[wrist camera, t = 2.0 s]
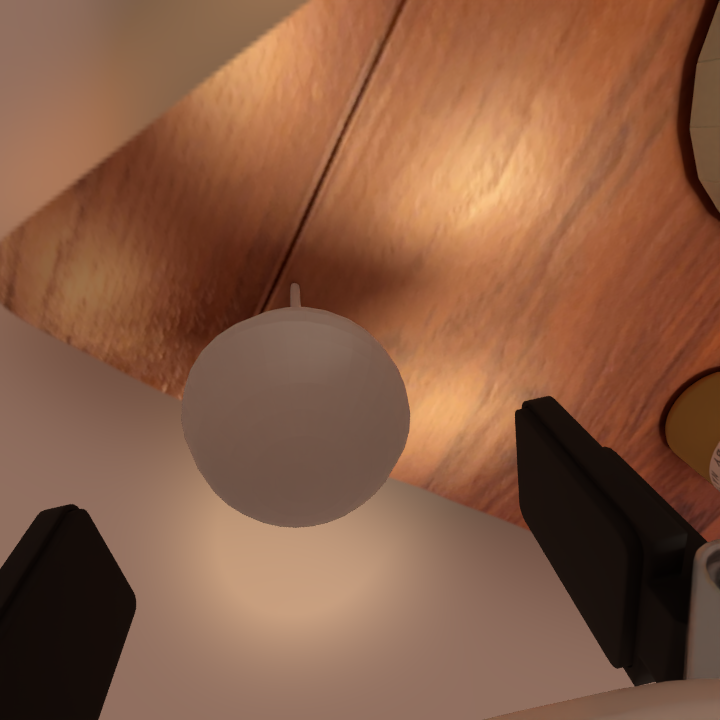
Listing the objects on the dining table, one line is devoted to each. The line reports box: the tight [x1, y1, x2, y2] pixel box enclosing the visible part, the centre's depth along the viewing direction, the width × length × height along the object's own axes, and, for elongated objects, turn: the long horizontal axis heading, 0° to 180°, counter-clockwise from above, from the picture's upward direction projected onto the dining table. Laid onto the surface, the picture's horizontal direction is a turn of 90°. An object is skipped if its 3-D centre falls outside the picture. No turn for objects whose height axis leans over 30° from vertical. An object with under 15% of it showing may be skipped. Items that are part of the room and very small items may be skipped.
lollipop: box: [182, 283, 410, 528], centre depth 17 cm, size 6×6×15 cm
